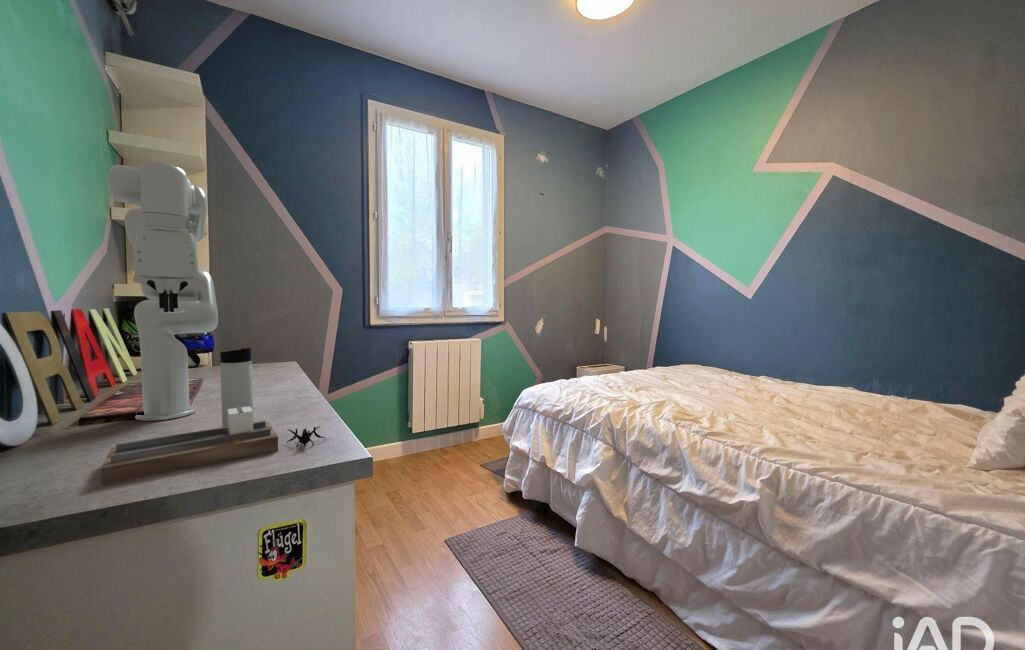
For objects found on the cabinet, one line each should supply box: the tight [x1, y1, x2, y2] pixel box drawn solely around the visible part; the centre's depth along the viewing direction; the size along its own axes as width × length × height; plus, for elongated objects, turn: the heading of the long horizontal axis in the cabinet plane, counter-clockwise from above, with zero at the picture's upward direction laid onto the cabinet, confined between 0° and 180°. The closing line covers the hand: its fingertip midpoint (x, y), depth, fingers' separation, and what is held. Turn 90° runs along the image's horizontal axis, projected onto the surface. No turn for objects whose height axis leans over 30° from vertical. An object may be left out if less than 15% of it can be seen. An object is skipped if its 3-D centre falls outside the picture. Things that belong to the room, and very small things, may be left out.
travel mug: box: [219, 347, 254, 428], centre depth 97 cm, size 6×7×20 cm
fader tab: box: [228, 406, 254, 435], centre depth 84 cm, size 5×4×5 cm
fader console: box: [100, 420, 279, 486], centre depth 80 cm, size 12×26×4 cm, turn 129°
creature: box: [285, 426, 326, 448], centre depth 88 cm, size 8×5×8 cm
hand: (169, 311), depth 85 cm, fingers closed
